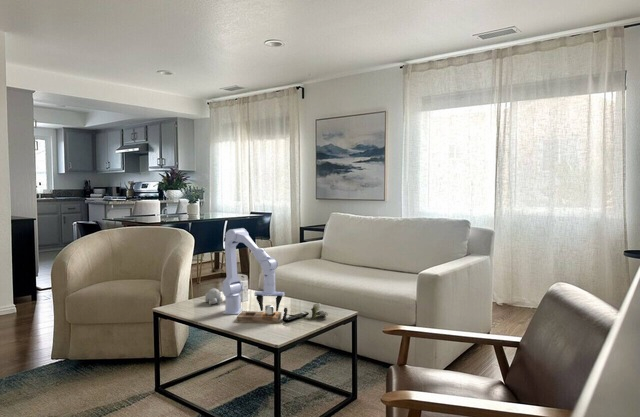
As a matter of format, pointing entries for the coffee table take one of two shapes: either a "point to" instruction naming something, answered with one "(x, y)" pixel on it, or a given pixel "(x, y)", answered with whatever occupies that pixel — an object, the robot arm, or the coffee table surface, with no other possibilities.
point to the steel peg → (269, 310)
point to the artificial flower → (314, 312)
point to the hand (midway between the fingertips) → (269, 310)
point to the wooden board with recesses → (258, 317)
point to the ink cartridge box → (244, 287)
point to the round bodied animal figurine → (213, 296)
